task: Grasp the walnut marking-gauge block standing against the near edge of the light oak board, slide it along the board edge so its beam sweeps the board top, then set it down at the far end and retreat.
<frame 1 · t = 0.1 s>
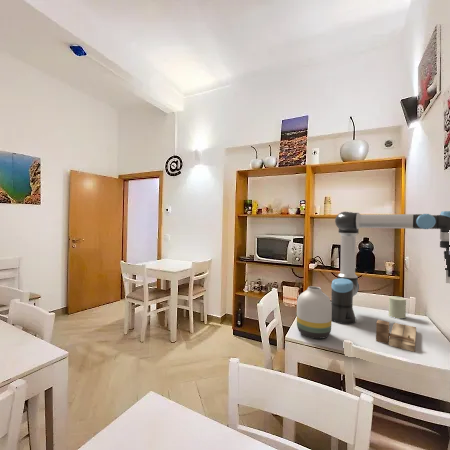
hand: (448, 281, 138), 28 cm above the table, fingers open, 13 cm apart
vase: (313, 334, 135), on the table
can: (396, 316, 164), on the table
board: (403, 338, 132), on the table
gauge: (382, 340, 129), on the table
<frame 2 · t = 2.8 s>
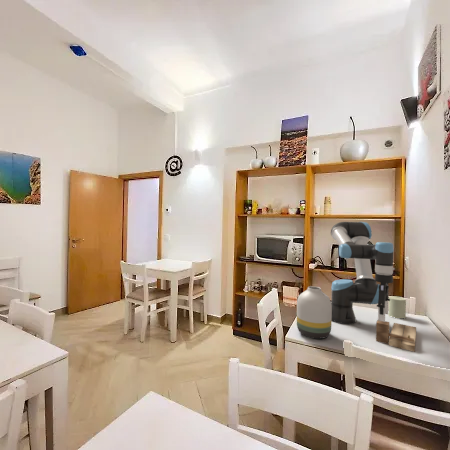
hand: (383, 317, 129), 12 cm above the table, fingers open, 13 cm apart
nothing on the table moved.
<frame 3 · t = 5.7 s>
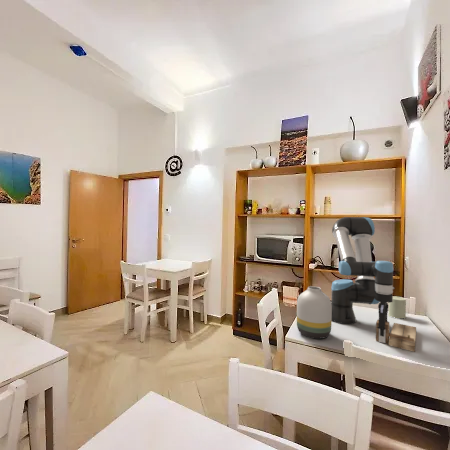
hand: (382, 340, 129), 0 cm above the table, fingers closed on gauge, 5 cm apart
gauge: (382, 340, 129), on the table, touching gripper
everything else where it was.
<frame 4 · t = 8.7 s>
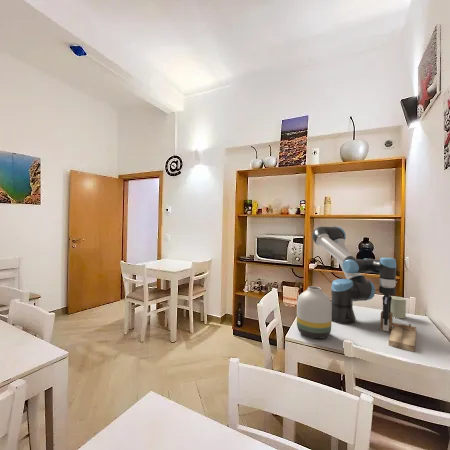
hand: (386, 329, 143), 0 cm above the table, fingers closed on gauge, 5 cm apart
gauge: (386, 329, 143), on the table, touching gripper
everything else where it was.
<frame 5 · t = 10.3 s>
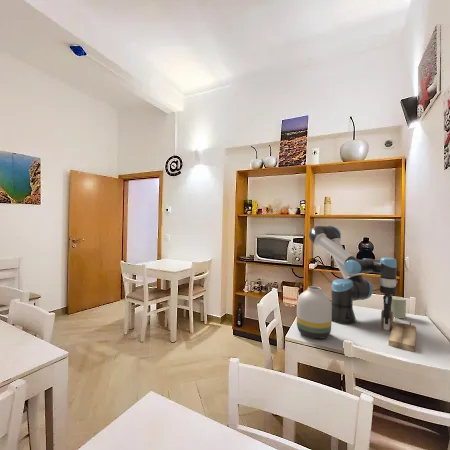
hand: (387, 328, 145), 0 cm above the table, fingers closed on gauge, 5 cm apart
gauge: (386, 328, 145), on the table, touching gripper
everything else where it was.
when the fingers open (0 cm above the table, at t = 11.6 s): gauge stays where it is, on the table.
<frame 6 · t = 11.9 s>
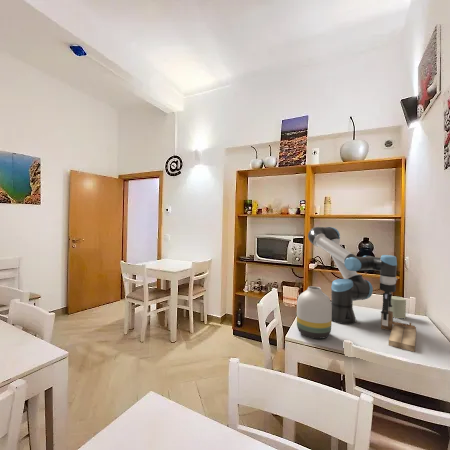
hand: (386, 321, 146), 3 cm above the table, fingers open, 13 cm apart
gauge: (386, 328, 145), on the table
everything else where it was.
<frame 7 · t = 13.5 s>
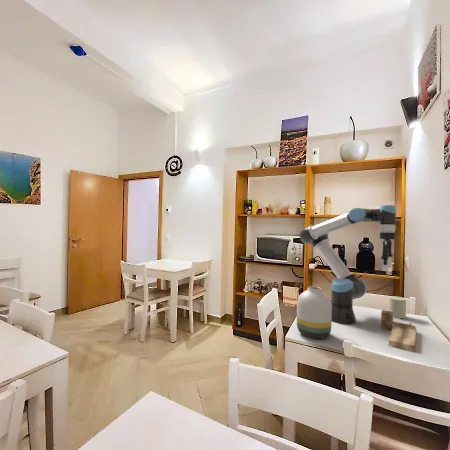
hand: (386, 269, 150), 32 cm above the table, fingers open, 13 cm apart
nothing on the table moved.
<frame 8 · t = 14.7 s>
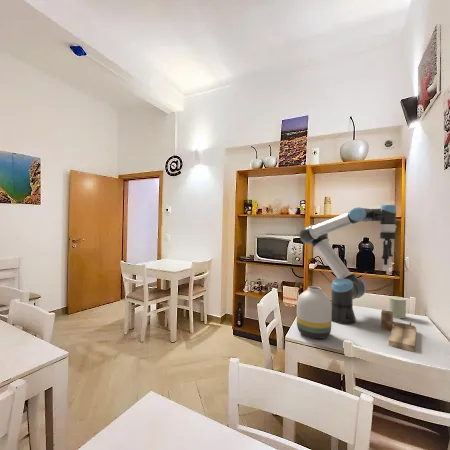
hand: (387, 269, 150), 32 cm above the table, fingers open, 13 cm apart
nothing on the table moved.
at the end: gauge inside the target area (0.3 cm from its centre), on the table; gauge tilted 0°; gauge moved 19.9 cm from its start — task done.
